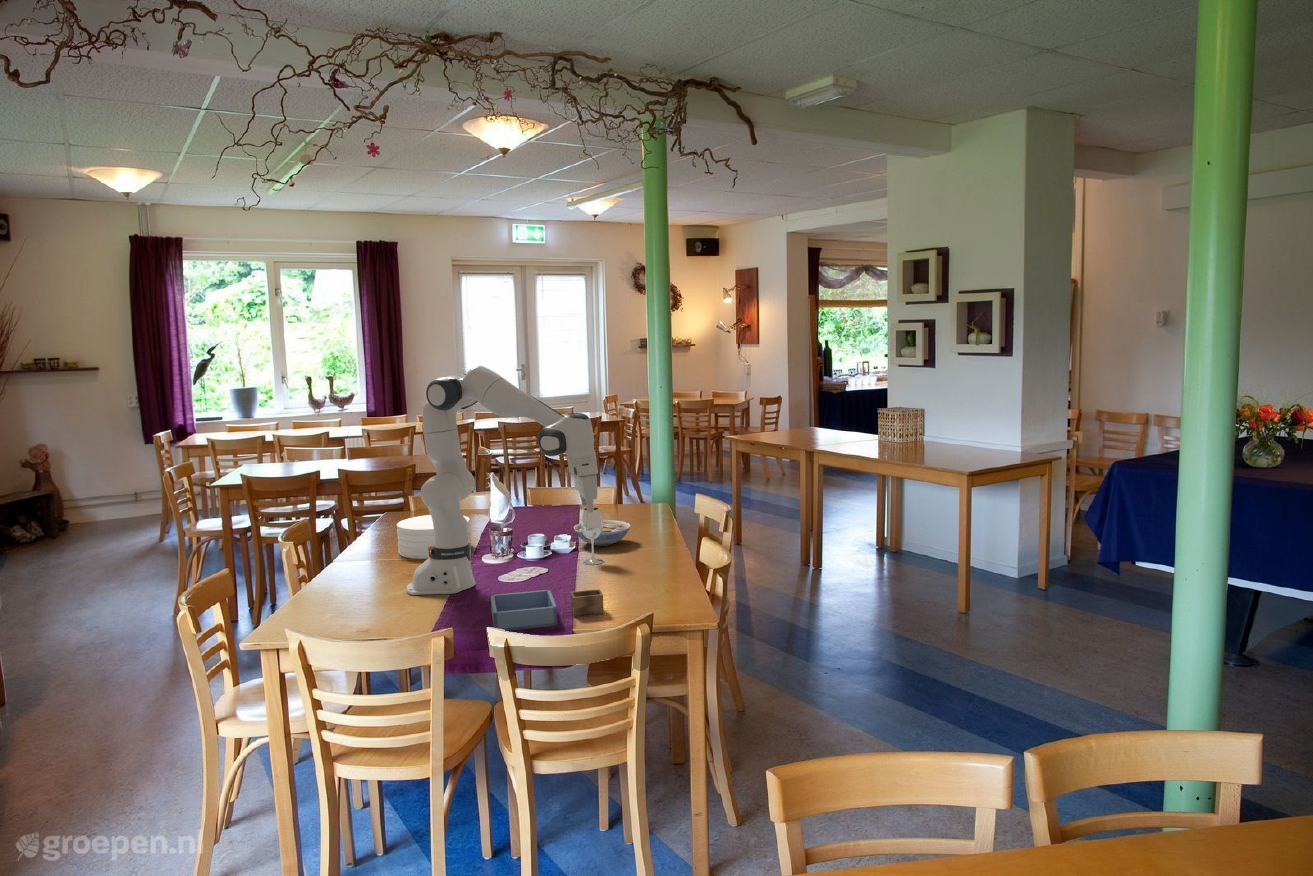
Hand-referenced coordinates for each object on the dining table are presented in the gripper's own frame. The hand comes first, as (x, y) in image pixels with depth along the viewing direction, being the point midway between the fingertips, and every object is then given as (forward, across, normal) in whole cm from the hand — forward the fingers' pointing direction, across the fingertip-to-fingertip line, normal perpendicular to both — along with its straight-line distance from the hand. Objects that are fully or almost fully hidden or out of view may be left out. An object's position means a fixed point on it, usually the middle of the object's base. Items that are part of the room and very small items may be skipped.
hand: (587, 508), depth 270 cm
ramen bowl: (+33, -70, +15) cm, 79 cm away
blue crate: (+27, +12, -25) cm, 39 cm away
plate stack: (+28, -86, -49) cm, 103 cm away
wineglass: (+31, -44, +7) cm, 55 cm away
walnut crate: (+29, +12, -6) cm, 32 cm away
